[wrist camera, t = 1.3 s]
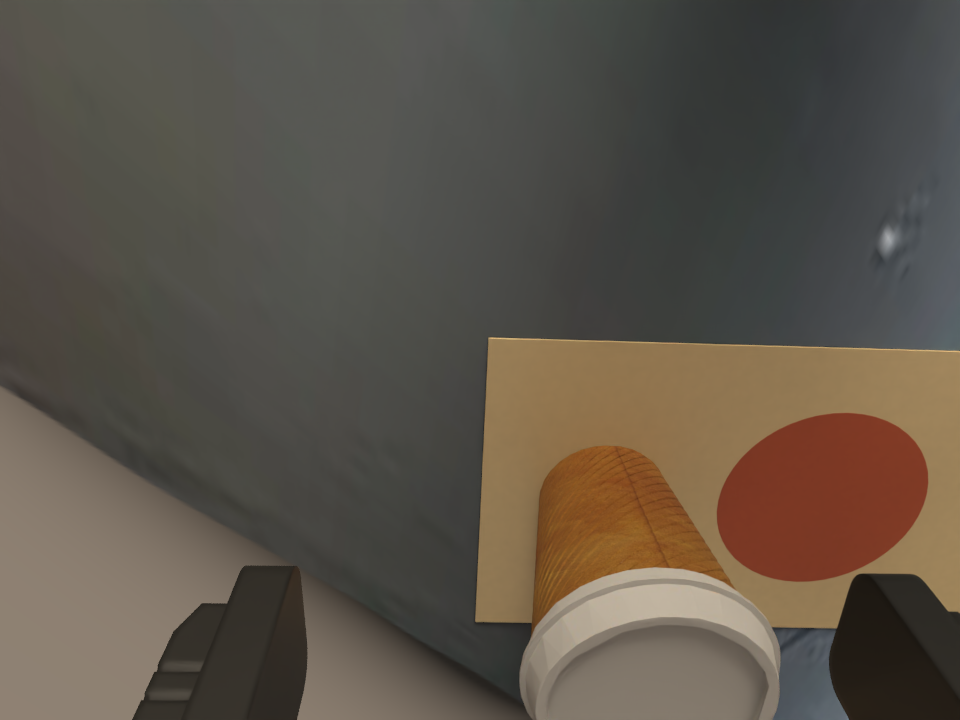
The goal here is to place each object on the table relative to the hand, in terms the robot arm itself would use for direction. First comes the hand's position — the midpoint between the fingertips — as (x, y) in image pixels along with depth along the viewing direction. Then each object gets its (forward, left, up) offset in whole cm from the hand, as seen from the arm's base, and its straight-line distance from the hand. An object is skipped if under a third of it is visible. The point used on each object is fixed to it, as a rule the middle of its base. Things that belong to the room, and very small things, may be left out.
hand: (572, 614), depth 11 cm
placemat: (+14, +17, -22) cm, 31 cm away
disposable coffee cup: (+14, +6, -22) cm, 27 cm away
